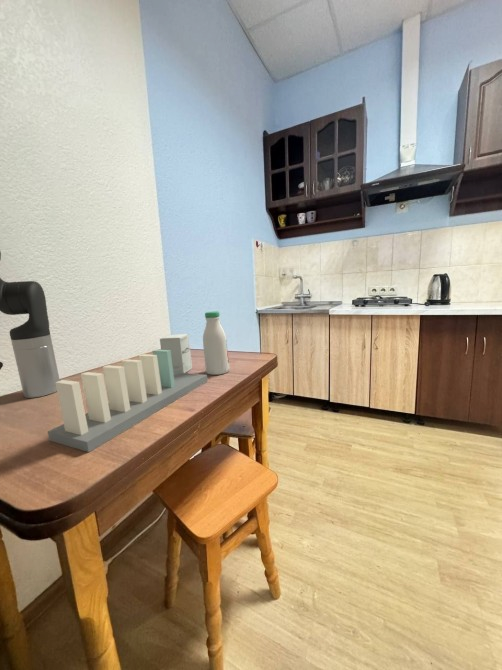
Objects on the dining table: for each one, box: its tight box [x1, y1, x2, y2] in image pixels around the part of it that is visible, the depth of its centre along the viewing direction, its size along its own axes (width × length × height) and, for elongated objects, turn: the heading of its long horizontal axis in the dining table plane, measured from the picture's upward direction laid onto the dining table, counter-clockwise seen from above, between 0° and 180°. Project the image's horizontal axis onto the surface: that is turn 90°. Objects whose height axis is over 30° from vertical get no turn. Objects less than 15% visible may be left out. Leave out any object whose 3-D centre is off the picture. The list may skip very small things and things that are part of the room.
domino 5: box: [137, 353, 162, 395], centre depth 71 cm, size 1×5×10 cm, turn 65°
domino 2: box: [80, 371, 111, 423], centre depth 57 cm, size 1×5×10 cm, turn 65°
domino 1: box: [55, 379, 88, 435], centre depth 53 cm, size 1×5×10 cm, turn 65°
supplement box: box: [159, 333, 193, 373], centre depth 95 cm, size 7×7×13 cm
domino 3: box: [102, 364, 130, 412], centre depth 62 cm, size 1×5×10 cm, turn 65°
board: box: [47, 372, 209, 453], centre depth 69 cm, size 12×38×2 cm, turn 155°
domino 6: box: [152, 349, 175, 388], centre depth 75 cm, size 1×5×10 cm, turn 65°
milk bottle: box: [202, 311, 230, 376], centre depth 91 cm, size 8×8×20 cm
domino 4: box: [121, 358, 147, 403], centre depth 66 cm, size 1×5×10 cm, turn 65°
